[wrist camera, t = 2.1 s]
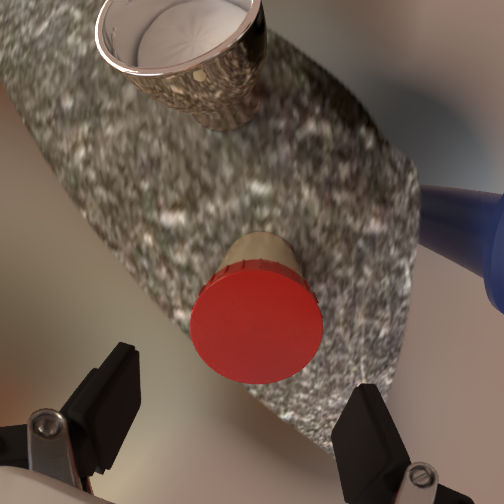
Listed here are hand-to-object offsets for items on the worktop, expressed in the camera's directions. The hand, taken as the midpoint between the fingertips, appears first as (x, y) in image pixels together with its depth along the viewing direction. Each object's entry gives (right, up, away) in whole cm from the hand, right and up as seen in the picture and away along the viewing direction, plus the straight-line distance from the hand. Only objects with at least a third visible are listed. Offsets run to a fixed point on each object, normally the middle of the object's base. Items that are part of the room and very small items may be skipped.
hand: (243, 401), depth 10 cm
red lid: (+1, +1, +5) cm, 5 cm away
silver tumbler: (-2, +18, +12) cm, 22 cm away
